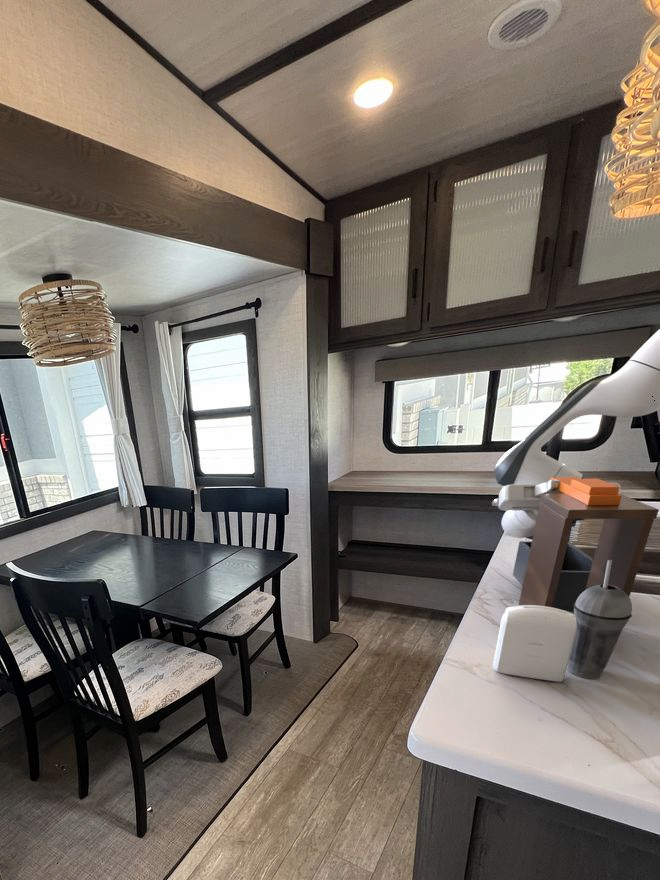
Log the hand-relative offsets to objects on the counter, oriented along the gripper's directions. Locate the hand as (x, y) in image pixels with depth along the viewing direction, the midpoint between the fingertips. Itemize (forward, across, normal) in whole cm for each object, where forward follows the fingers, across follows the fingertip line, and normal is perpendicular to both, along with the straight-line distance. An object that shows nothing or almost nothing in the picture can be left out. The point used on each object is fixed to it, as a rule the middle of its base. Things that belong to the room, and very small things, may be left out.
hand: (573, 483), depth 88 cm
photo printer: (+8, -10, +36) cm, 39 cm away
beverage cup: (+6, -1, +35) cm, 36 cm away
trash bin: (-25, +6, +17) cm, 31 cm away
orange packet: (+3, 0, +3) cm, 4 cm away
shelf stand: (-5, 0, +28) cm, 29 cm away
